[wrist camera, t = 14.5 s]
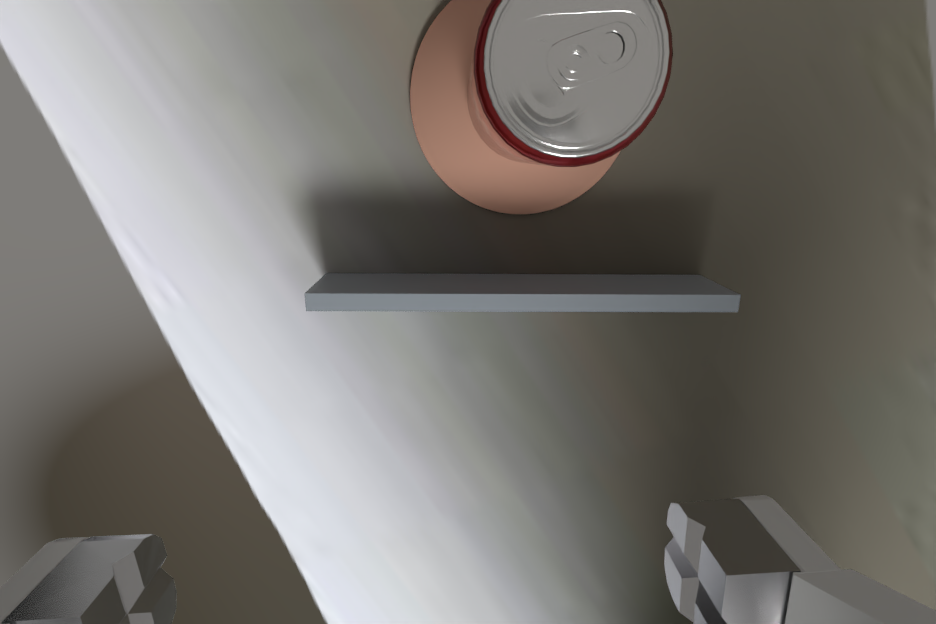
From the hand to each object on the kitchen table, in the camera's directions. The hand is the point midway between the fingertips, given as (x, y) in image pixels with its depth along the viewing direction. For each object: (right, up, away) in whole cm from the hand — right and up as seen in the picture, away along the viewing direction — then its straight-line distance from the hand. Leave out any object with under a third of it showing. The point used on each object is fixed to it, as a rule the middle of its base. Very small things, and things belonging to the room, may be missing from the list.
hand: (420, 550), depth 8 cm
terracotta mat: (+4, +16, +22) cm, 27 cm away
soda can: (+4, +16, +21) cm, 27 cm away
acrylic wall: (+4, +6, +25) cm, 26 cm away
